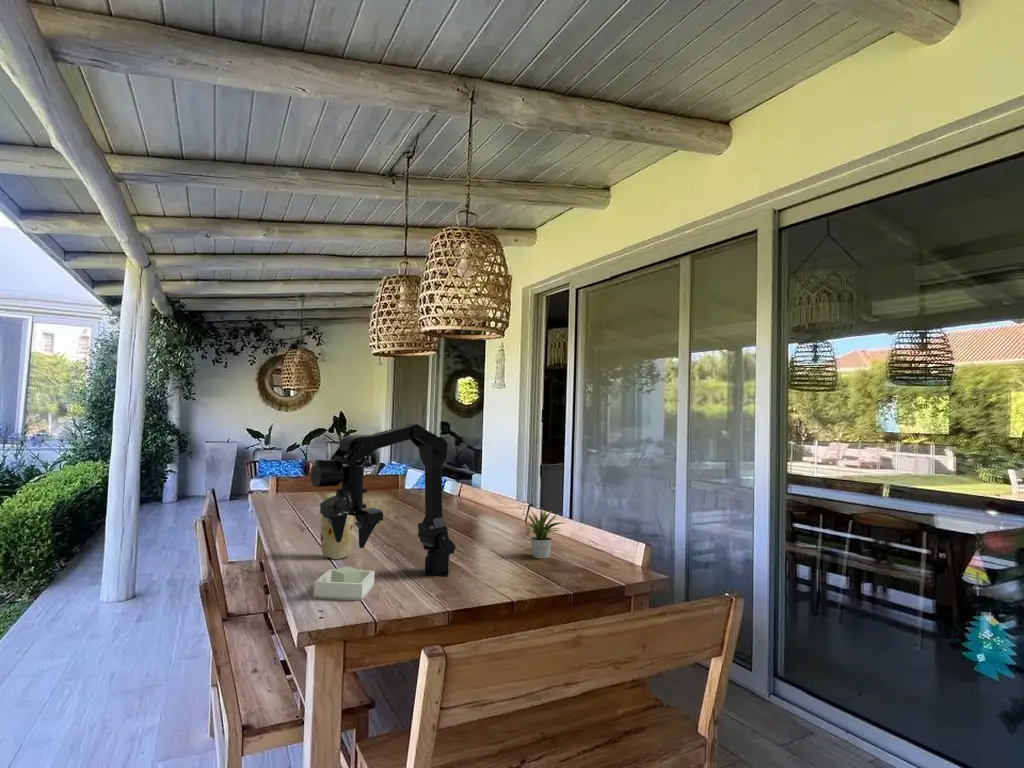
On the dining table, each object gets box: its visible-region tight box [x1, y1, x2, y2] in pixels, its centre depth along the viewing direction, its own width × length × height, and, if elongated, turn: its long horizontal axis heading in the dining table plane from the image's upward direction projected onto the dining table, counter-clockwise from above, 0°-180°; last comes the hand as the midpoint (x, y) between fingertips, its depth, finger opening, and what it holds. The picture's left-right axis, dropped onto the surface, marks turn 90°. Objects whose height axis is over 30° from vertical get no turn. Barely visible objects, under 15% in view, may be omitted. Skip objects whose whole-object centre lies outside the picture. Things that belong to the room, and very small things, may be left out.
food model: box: [320, 492, 354, 560], centre depth 187 cm, size 10×7×20 cm
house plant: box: [522, 507, 565, 559], centre depth 196 cm, size 14×14×16 cm
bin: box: [313, 568, 376, 602], centre depth 154 cm, size 12×12×4 cm
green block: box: [331, 565, 361, 583], centre depth 154 cm, size 5×5×5 cm
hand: (349, 545), depth 155 cm, fingers open, 9 cm apart
